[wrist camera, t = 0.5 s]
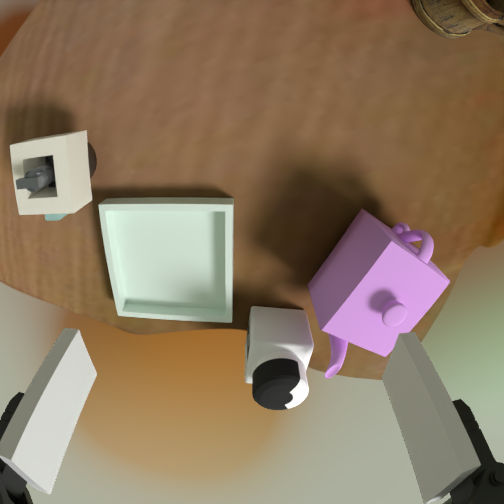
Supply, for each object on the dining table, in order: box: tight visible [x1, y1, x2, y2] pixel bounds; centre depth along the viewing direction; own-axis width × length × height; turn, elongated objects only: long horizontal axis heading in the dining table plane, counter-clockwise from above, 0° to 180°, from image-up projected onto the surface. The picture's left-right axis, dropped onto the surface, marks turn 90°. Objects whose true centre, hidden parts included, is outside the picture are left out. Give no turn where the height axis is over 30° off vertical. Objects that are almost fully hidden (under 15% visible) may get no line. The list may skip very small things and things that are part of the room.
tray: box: [98, 197, 234, 323], centre depth 39 cm, size 16×16×3 cm
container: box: [245, 306, 314, 410], centre depth 40 cm, size 8×8×13 cm
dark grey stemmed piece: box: [16, 142, 97, 192], centre depth 30 cm, size 6×6×11 cm
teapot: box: [308, 208, 450, 378], centre depth 36 cm, size 20×10×12 cm, turn 151°
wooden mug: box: [412, 0, 504, 39], centre depth 18 cm, size 9×14×18 cm, turn 57°
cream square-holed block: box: [10, 130, 92, 220], centre depth 29 cm, size 9×8×4 cm
